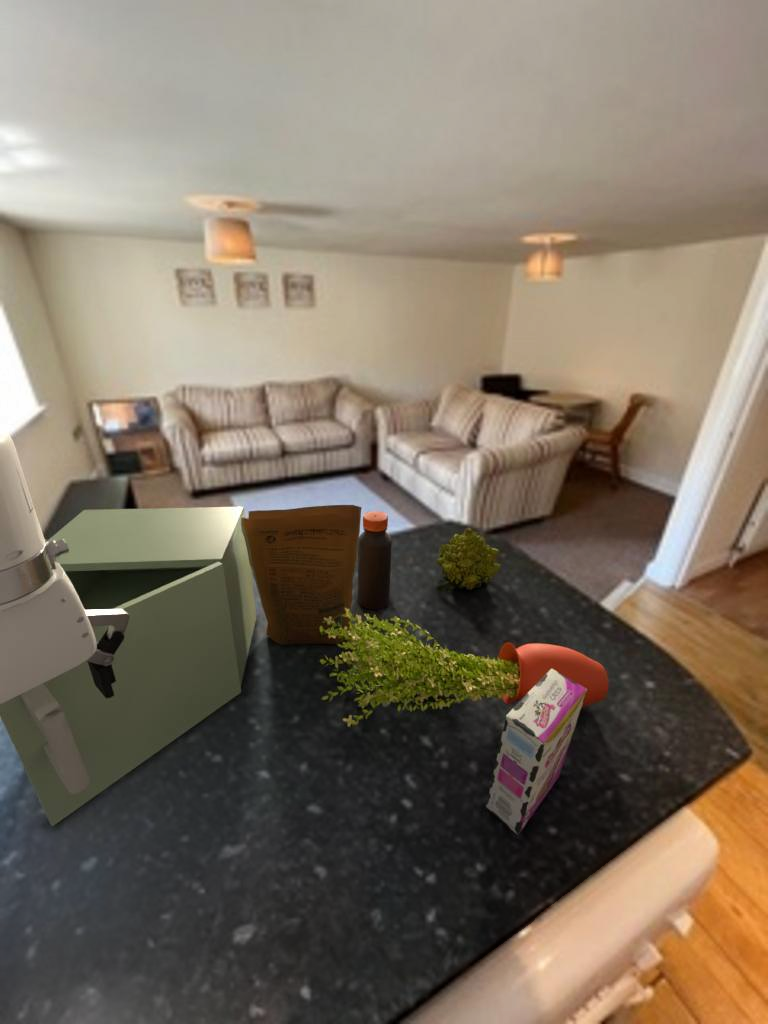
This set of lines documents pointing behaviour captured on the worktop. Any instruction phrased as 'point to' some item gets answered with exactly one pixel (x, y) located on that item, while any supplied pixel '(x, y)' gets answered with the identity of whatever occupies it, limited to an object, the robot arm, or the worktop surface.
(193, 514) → the cabinet
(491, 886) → the worktop surface
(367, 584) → the bottle
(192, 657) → the door
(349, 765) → the worktop surface
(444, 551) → the vegetable
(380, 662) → the potted plant
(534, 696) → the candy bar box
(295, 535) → the pancake mix bag
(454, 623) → the worktop surface
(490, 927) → the worktop surface
